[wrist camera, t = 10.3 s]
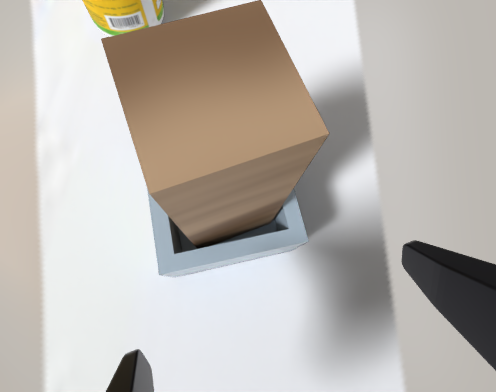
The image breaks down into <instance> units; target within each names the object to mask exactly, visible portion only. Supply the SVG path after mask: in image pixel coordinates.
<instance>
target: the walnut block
mask: <svg viewBox="0 0 496 392" xmlns="http://www.w3.org/2000/svg"><path fill="white" fill-rule="evenodd" d="M101 40H102V43H103V47H104V50H105V53H106V56H107V59H108V63H109V66H110V69H111V72H112V76H113V79H114V82H115V85H116V88H117V92H118V95H119V98H120V101H121V104H122V108H123V111H124V114H125V117H126V120H127V124H128V127H129V130H130V133H131V137H132V140H133V143H134V146H135V149H136V153H137V156H138V159H139V162H140V165H141V169H142V172H143V175H144V178H145V182H146V185H147V188H148V191H149V194H150V195H151V196H152V198H153V199H154V200H155V201H156V202H157V203H158V204H159V206H160V207H161V208H162V209H163V210H164V211H165V213H166V214H167V215H168V216H169V217H170V218H171V219H172V221H173V222H174V223H175V224H176V225H177V226H178V227H179V229H180V230H181V231H182V232H183V233H184V234H185V235H186V237H187V238H188V239H189V240H190V241H191V242H192V243H193V245H194V246H195V247H196V248H197V249H200V248H204V247H209V246H212V245H215V244H217V243H220V242H223V241H225V240H228V239H231V238H233V237H236V236H239V235H241V234H244V233H247V232H249V231H252V230H255V229H257V228H260V227H263V226H265V225H268V224H270V223H271V222H272V220H273V219H274V217H275V216H276V214H277V213H278V211H279V209H280V208H281V206H282V205H283V203H284V202H285V200H286V199H287V197H288V196H289V194H290V193H291V191H292V190H293V188H294V187H295V185H296V184H297V182H298V181H299V179H300V178H301V176H302V175H303V173H304V171H305V170H306V168H307V167H308V165H309V164H310V162H311V161H312V159H313V158H314V156H315V155H316V153H317V152H318V150H319V149H320V147H321V146H322V144H323V143H324V141H325V140H326V138H327V136H328V135H329V132H328V130H327V128H326V126H325V124H324V122H323V120H322V118H321V116H320V114H319V112H318V110H317V108H316V107H315V105H314V103H313V101H312V99H311V97H310V95H309V93H308V91H307V89H306V87H305V85H304V83H303V81H302V79H301V77H300V75H299V73H298V71H297V69H296V67H295V65H294V63H293V62H292V60H291V58H290V56H289V54H288V52H287V50H286V48H285V46H284V44H283V42H282V40H281V38H280V36H279V34H278V32H277V30H276V28H275V26H274V24H273V22H272V20H271V18H270V16H269V15H268V13H267V11H266V9H265V7H264V5H263V3H262V1H261V0H258V1H254V2H250V3H246V4H242V5H238V6H234V7H230V8H225V9H221V10H217V11H213V12H209V13H205V14H201V15H197V16H193V17H189V18H184V19H180V20H176V21H172V22H168V23H164V24H160V25H156V26H152V27H148V28H143V29H139V30H135V31H131V32H127V33H123V34H119V35H115V36H111V37H107V38H102V39H101Z"/></svg>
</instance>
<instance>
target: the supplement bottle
mask: <svg viewBox="0 0 496 392" xmlns="http://www.w3.org/2000/svg"><path fill="white" fill-rule="evenodd" d="M83 2H84V4H85V6H86V8H87V10H88V12H89V14H90V16H91V18H92V20H93V21H94V23H95V25H96V26H97V28H98V29H99V30H100V31H101V32H102V33H103V34H104V35H106V36H108V37H111V36H115V35H119V34H123V33H127V32H131V31H135V30H139V29H143V28H148V27H152V26H156V25H160V24H161V23H162V21H163V17H164V7H163V2H162V0H83Z"/></svg>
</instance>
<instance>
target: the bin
mask: <svg viewBox="0 0 496 392" xmlns="http://www.w3.org/2000/svg"><path fill="white" fill-rule="evenodd" d="M147 190H148V188H147ZM148 197H149V204H150V211H151V218H152V226H153V233H154V240H155V247H156V254H157V262H158V269H159V275H162V276H169V277H178V276H183V275H187V274H192V273H196V272H200V271H205V270H209V269H213V268H218V267H222V266H227V265H231V264H235V263H240V262H244V261H249V260H253V259H257V258H262V257H266V256H270V255H275V254H279V253H284V252H288V251H292V250H294V249H296V248H298V247H299V246H301V245H303V244H305V243H307V242H308V241H309V240H308V237H307V233H306V230H305V226H304V223H303V219H302V216H301V212H300V209H299V205H298V202H297V198H296V195H295V191H294V188H293V190H292V191H291V193H290V194H289V196H288V197H287V199H286V200H285V202H284V203H283V205H282V206H281V208H280V209H279V211H278V213H277V214H276V216H275V217H274V219H273V220H272V222H271V223H270V224H268V225H265V226H263V227H260V228H257V229H255V230H252V231H249V232H247V233H244V234H241V235H239V236H236V237H233V238H231V239H228V240H225V241H223V242H220V243H217V244H215V245H212V246H209V247H204V248H200V249H197V248H196V247H195V246H194V245H193V243H192V242H191V241H190V240H189V239H188V238H187V237H186V235H185V234H184V233H183V232H182V231H181V230H180V229H179V227H178V226H177V225H176V224H175V223H174V222H173V221H172V219H171V218H170V217H169V216H168V215H167V214H166V213H165V211H164V210H163V209H162V208H161V207H160V206H159V204H158V203H157V202H156V201H155V200H154V199H153V198H152V196H151V195H150V194H149V191H148Z"/></svg>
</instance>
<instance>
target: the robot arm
mask: <svg viewBox="0 0 496 392" xmlns="http://www.w3.org/2000/svg"><path fill="white" fill-rule="evenodd" d="M402 265H403V267H404V269H405V270H406V271H407V273H408V274H409V275H410V276H411V278H412V279H413V280H414V282H415V283H416V284H417V285H418V287H419V288H420V289H421V290H422V292H423V293H424V294H425V295H426V297H427V298H428V299H429V300H430V302H431V303H432V304H433V305H434V306H435V307H436V309H438V311H439V312H440V313H441V314H442V315H443V316H444V317H445V318H446V319H447V320H448V321H449V322H450V323H451V324H452V325H453V326H454V327H455V328H456V330H458V332H459V333H460V334H461V335H462V336H463V337H464V338H465V339H466V340H467V341H468V342H469V343H470V344H471V345H472V346H473V347H474V348H475V349H476V350H477V352H479V353H480V355H481V356H482V357H483V358H484V359H485V360H486V361H487V362H488V363H489V364H490V365H491V366H492V367H493V368H494V369H495V370H496V265H495V264H492V263H489V262H486V261H482V260H479V259H476V258H472V257H469V256H466V255H463V254H459V253H456V252H453V251H449V250H446V249H443V248H439V247H436V246H433V245H430V244H426V243H423V242H419V241H411V242H409V243H406V244H404V245H403V250H402ZM106 392H154V387H153V378H152V370H151V367H150V364H149V363H148V361H147V359H146V358H145V356H144V355H143V353H142V352H141V351H140V350H139V349H137V350H134V351H131V352H129V353H127V354H125V355H124V357H123V358H122V360H121V362H120V364H119V366H118V368H117V370H116V372H115V374H114V376H113V378H112V380H111V382H110V384H109V386H108V388H107V390H106Z"/></svg>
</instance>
